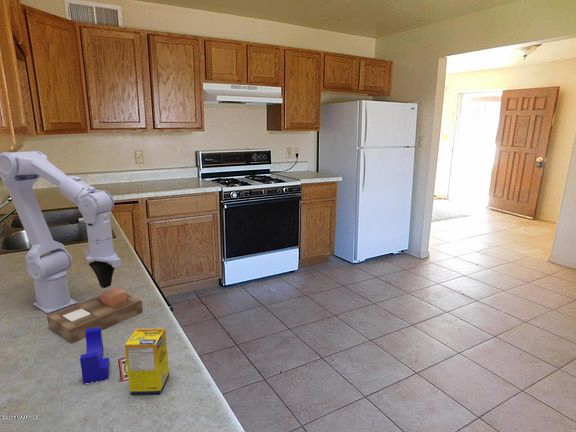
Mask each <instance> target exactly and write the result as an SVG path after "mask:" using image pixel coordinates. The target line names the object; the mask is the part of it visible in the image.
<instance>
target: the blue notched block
mask: <svg viewBox="0 0 576 432" xmlns="http://www.w3.org/2000/svg"><path fill="white" fill-rule="evenodd" d="M85 334H86V337H85V345H86V348H85V349H86V353H84V354H81V355H80V358H79V361H80V369H81V377H82V385H83V384H85V383H90V384H92V383H91V382H94V383H97V382H96V381H98V382H102V381H101V380H103V381H106V380H105V379H107V380H109V378H108V377H109V375H110V363H111V362H110V357H104V343H103V336H102V335H103V333H102V330H101V327H97V328H92V329H86V332H85ZM103 357H104V358H103ZM85 385H86V384H85Z"/></svg>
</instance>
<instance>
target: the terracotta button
mask: <svg viewBox="0 0 576 432" xmlns="http://www.w3.org/2000/svg"><path fill="white" fill-rule="evenodd" d="M127 294H128V293H127V291H126V290H124V289H121V288H119V287H114V288H112V289H109V290H105V291H103V292H100V293H99V296H100V297H101V303H102V304H104V305H106V306H108V307H113V306H115V305H118V304H120V303H123V302H125V301H127Z"/></svg>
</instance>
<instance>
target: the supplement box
mask: <svg viewBox="0 0 576 432" xmlns="http://www.w3.org/2000/svg"><path fill="white" fill-rule="evenodd" d="M167 343H168V342H167V334H166V328H165V327H164V328H162V327H159V328H155V327H154V328H136V329H135V330H134V332H132V334H131V336H130V337H129V338H128V340H127V341H126V342H125V344H124V348H125V357H126V358H125V359H126V367H127V368H126V369H127V377H128V384H129V393H130V395H131V394H136V395H149V394H148V393H161V394H162V391H163V390H164V388H165V385H166V383H167V381H168V378H169V376H170V371H169V357H168V347H167V345H168V344H167ZM146 393H147V394H146Z"/></svg>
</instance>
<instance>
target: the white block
mask: <svg viewBox="0 0 576 432" xmlns="http://www.w3.org/2000/svg"><path fill="white" fill-rule="evenodd" d="M90 315H91V313H89V312H87V311H85V310H84V309H79V310H76V311H74V312H71V313H68V314H66V315H63V316H62V317H63V319H65V320H67V321H68V322H70V323H72V322H74V321H77V320H80V319H82V318H85V317H87V316H90Z"/></svg>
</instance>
